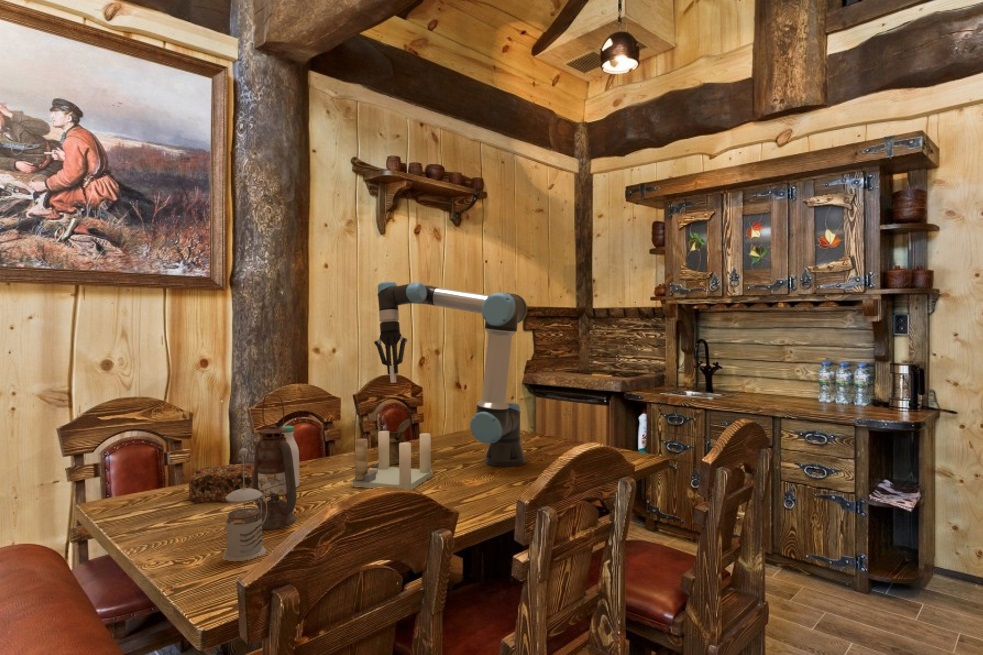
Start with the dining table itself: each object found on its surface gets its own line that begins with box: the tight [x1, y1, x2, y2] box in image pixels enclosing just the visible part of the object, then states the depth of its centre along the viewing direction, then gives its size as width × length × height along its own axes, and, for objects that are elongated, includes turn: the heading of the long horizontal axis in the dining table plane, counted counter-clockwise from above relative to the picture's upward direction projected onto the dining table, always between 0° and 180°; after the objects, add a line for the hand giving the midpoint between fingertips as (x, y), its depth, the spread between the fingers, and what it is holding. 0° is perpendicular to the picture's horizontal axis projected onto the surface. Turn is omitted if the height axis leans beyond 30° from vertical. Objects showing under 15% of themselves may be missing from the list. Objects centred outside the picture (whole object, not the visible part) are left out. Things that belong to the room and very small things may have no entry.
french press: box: [222, 447, 267, 562], centre depth 140 cm, size 10×12×25 cm
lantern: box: [253, 393, 297, 530], centre depth 160 cm, size 11×16×35 cm
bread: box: [188, 463, 254, 503], centre depth 184 cm, size 19×11×10 cm, turn 95°
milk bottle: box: [274, 425, 300, 491], centre depth 194 cm, size 8×8×20 cm
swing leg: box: [354, 438, 379, 480], centre depth 199 cm, size 12×4×13 cm, turn 163°
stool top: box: [350, 430, 434, 491], centre depth 200 cm, size 21×21×15 cm
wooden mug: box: [389, 417, 411, 466], centre depth 226 cm, size 9×14×18 cm, turn 58°
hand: (393, 382), depth 227 cm, fingers closed
